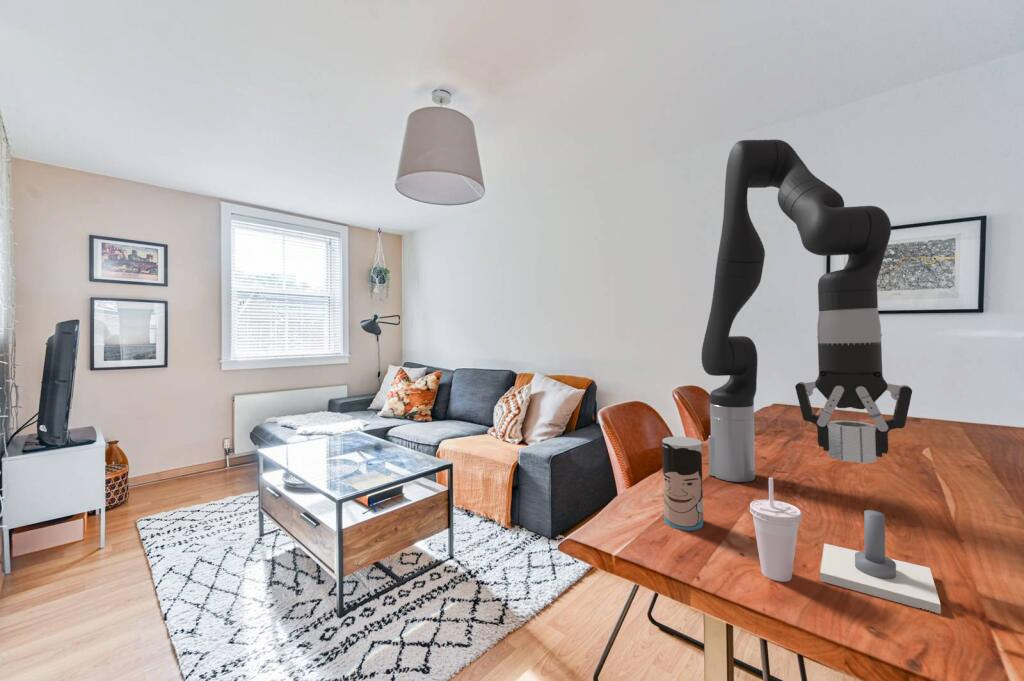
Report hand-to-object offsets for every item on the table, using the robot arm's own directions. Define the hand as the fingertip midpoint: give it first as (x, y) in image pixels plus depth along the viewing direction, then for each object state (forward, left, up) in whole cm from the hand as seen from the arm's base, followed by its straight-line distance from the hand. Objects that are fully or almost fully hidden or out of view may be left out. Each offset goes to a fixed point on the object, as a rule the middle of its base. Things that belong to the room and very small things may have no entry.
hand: (852, 452), depth 65 cm
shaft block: (+2, -4, -16) cm, 17 cm away
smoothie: (-9, -11, -17) cm, 22 cm away
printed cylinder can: (-25, -1, -17) cm, 30 cm away
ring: (0, 0, -1) cm, 1 cm away
